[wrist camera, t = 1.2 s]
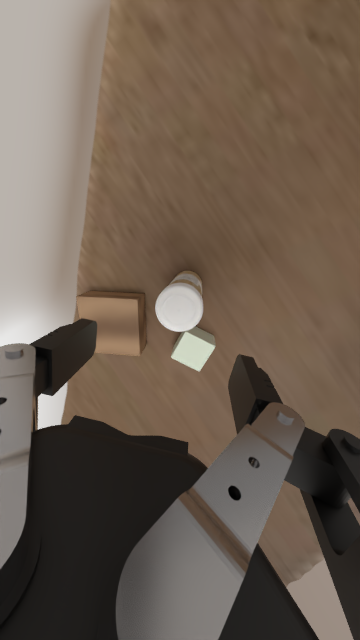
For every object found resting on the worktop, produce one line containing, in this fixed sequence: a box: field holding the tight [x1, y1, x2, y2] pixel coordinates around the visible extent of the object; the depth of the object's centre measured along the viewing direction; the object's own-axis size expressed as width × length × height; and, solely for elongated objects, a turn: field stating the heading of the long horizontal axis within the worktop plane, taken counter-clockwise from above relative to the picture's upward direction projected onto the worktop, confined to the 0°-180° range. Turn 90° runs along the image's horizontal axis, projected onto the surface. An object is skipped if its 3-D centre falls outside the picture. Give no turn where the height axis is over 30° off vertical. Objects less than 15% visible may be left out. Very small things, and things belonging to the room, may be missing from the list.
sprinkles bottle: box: [155, 271, 203, 332], centre depth 25 cm, size 5×5×13 cm
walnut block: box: [76, 291, 146, 356], centre depth 33 cm, size 9×9×4 cm
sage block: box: [171, 326, 216, 371], centre depth 33 cm, size 5×5×4 cm
